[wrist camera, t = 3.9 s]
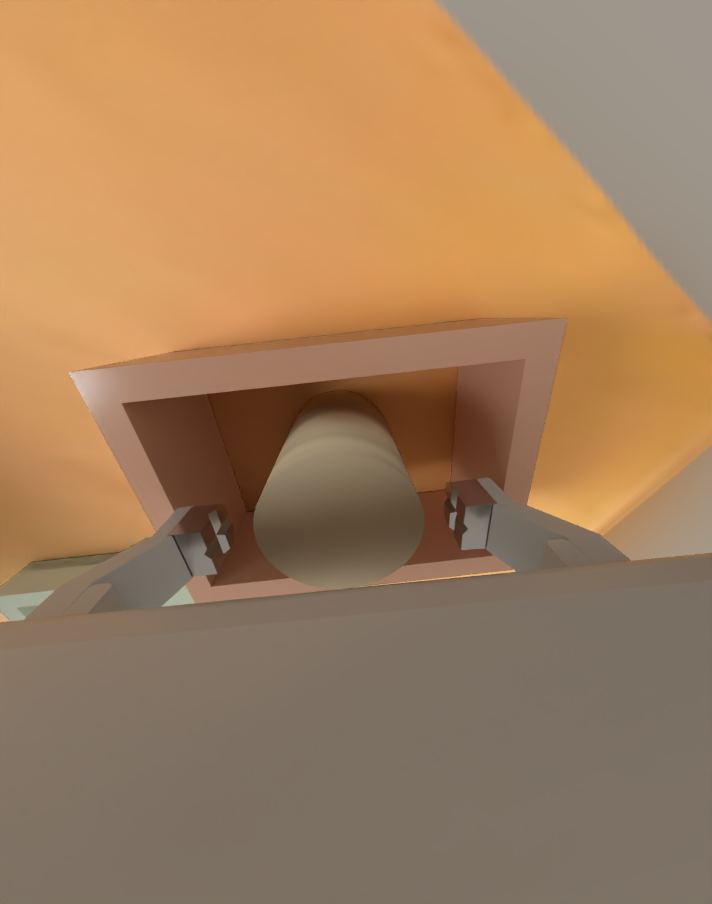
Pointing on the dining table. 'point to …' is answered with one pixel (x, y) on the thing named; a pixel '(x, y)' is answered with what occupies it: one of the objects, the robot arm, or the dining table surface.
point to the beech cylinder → (339, 498)
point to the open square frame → (313, 360)
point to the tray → (54, 584)
